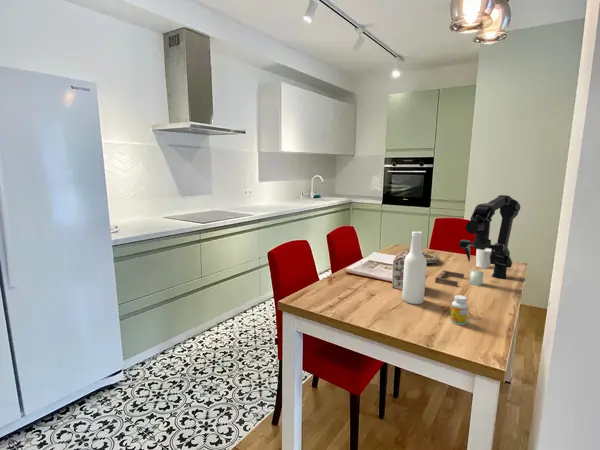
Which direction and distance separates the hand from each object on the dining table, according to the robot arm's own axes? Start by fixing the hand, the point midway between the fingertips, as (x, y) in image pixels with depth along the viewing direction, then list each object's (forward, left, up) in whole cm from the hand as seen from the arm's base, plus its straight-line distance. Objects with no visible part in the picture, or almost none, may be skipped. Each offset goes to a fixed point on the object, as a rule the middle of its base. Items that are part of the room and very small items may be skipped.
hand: (479, 262), depth 162 cm
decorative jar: (+25, -26, -11) cm, 37 cm away
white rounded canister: (0, -1, -11) cm, 11 cm away
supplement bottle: (+50, +1, -11) cm, 51 cm away
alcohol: (+40, -19, -11) cm, 45 cm away
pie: (-26, -35, -12) cm, 45 cm away
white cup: (-35, -3, -11) cm, 37 cm away
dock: (+2, -13, -11) cm, 17 cm away
